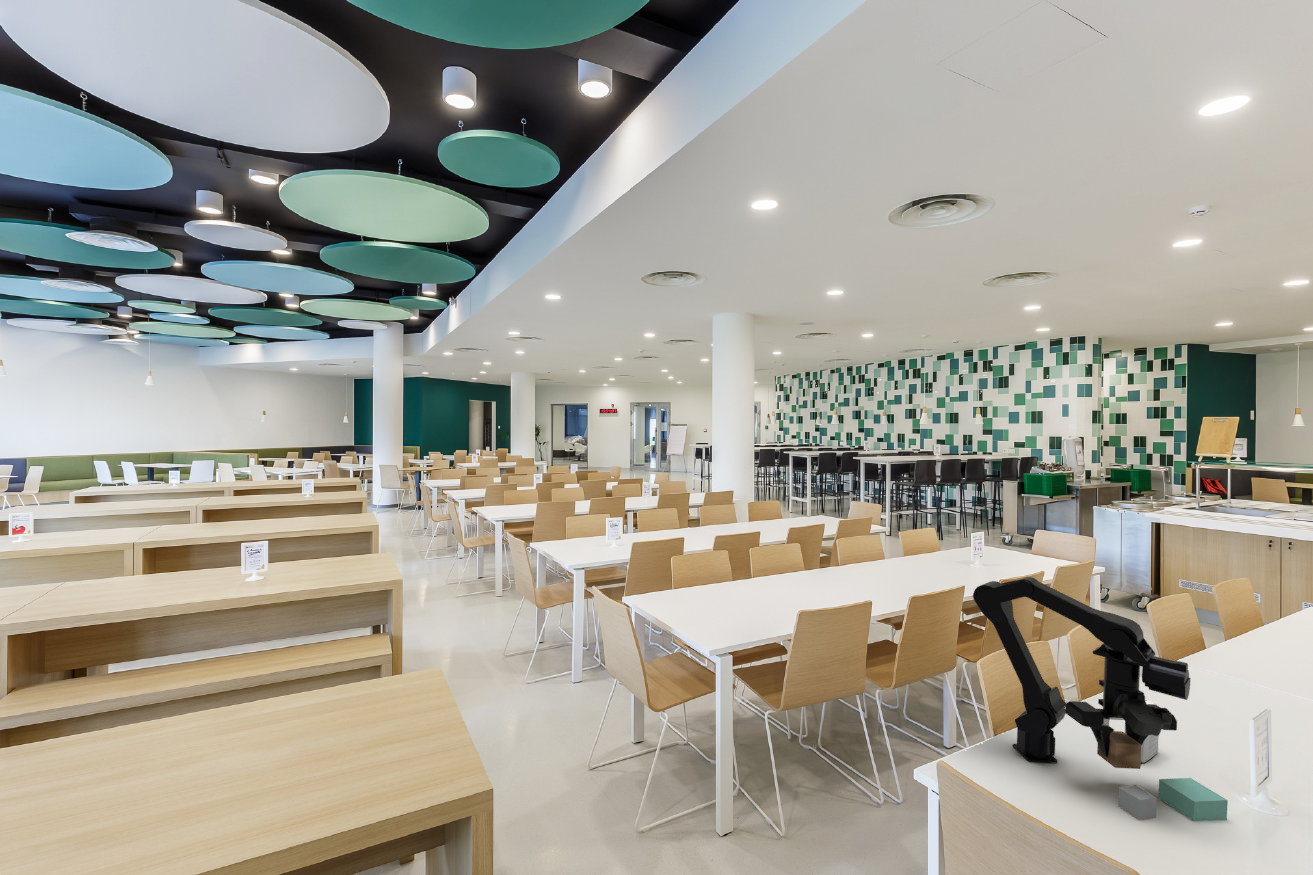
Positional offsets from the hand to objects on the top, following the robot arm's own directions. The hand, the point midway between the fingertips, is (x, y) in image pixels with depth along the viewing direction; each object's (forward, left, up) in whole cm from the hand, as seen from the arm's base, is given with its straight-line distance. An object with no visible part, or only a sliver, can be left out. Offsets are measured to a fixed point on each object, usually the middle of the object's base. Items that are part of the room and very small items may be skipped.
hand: (1118, 755), depth 120 cm
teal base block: (+10, -6, -7) cm, 13 cm away
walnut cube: (0, 0, -1) cm, 1 cm away
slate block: (-2, -8, -7) cm, 11 cm away
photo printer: (+15, +13, -7) cm, 21 cm away
